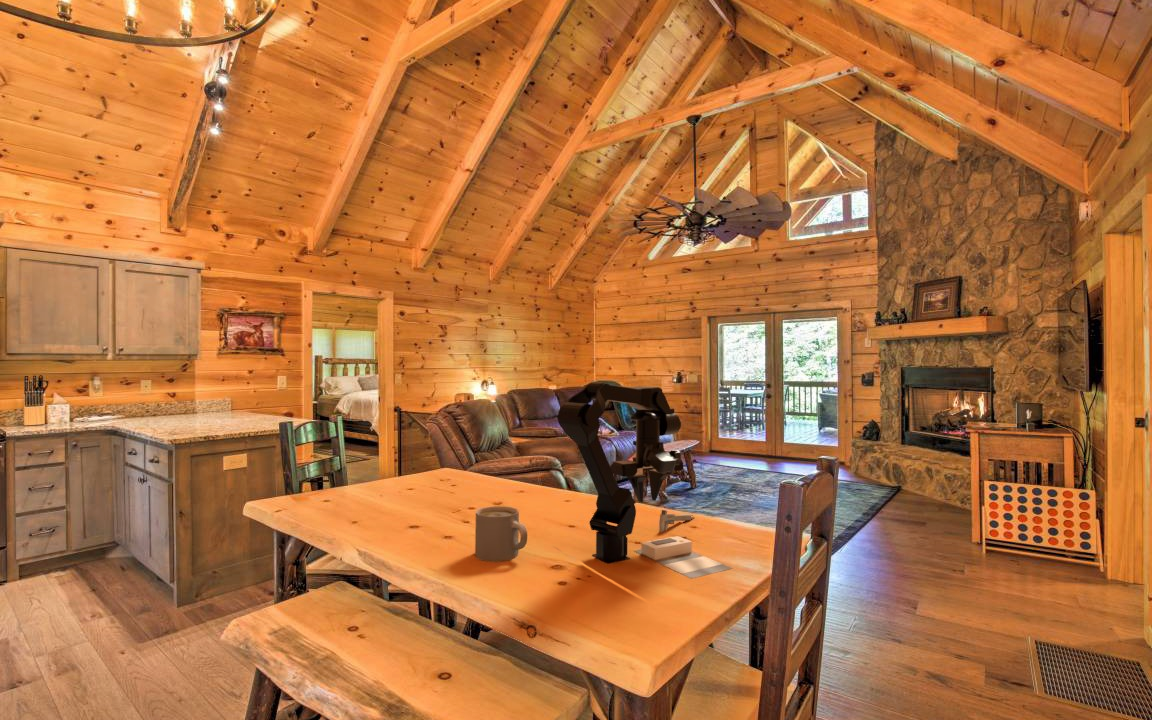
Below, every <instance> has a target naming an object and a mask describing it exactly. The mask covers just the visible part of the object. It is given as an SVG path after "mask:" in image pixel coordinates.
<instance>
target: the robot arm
mask: <svg viewBox="0 0 1152 720" xmlns="http://www.w3.org/2000/svg"><path fill="white" fill-rule="evenodd" d="M593 400H594V401H593ZM591 402H592V403H591ZM607 402H617V403H622V404H627V405H628V406H630V407H631V408H633V409H636V411H635V413H633V414H632V415H631V417H630V420H633V421H634V420H635V422H636V424H635V425H636V428H635V429H636V431H635V434H636V435H635V440H633V441H632V446H635V457H632V462H631V461H629V460H617V461H616V460H615V461H612V463H609V460H608V458H607V455H606V452H605V450H604V447H603V445H602V443H601V441H600V438H599V430H600V426H601V422H600V418H601V417H602V415H603V414H604V413H605V409H606V403H607ZM590 403H591V404H590ZM556 419H557V423H558V424H559V426H560V428H561V429H562V431H563V432H564V434H565V435H567V437H569V438H570V440H572V441H573V442H574V443H575V444H576V446H577V447H578V448H577V449H578V450H579V452H580V455H581V457H582V460H583V461H584V464H585V467H586V469H587V471H588V474H589V476H590V479H591V481H592V482H593V483H592V484H593V485H594V487H595V490H596V492H597V498H596V503H595V505H596V509H595V512H594V514H593V515H592V517H591V519H590V520H589V523H588V524H589V526H590V530H591V531H596V533H595V535H596V536H595V537H596V538H595V540H596V541H595V553H593V554H592V555H591V556H592V557H594V558H596V559H598V560H599V561H601V562H603V563H605V564H608V565H609V564H614V563H618V562H622V561H624V562H625V561H628V560H631V557H629V556H628V546H629V545H628V539H629V538H628V536H629V535H632V534H633V530H634V524H635V521H636V520H635V519H636V516H637V515H636V514H637V509H636V505H635V504H637V503H636V502H637V501H638V503H643V500H644V481H645V479H646V478H647V475H644V472H643V471H648V480H649V488H650V489H649V490H650V496H651V500H653V501H657V498H658V496H659V493H660V490H661V487H662V485H663V482H664V480H666V478H667V477H669V476H671V475H672V472H681V471H684V462H683V460H682V458H681V456H682V454H681V451H680V450H678V449H671V450H665V449H664V447H665V445H664V442H662V441H660V440H661V439H660V437H663V436H664V437H665V436H669V435H670V436H671V435H676V434H677V433H678V432H679V431H680V429H681V427H682V421H681V419H680V417H679V416H678V415H677V413H675V408H672V407H670V404H669V403H668V400H667V398H666V395H665V393H664V392H663V389H662V388H661V387H660V386H631V387H628V386H622V385H616V384H611V383H610V384H609V383H607V382H603V381H601V382H600V381H591V382H590V383H589V382H588V383H587V384H586V385H585V386H584V388H583V389H582V390H580V391H578V392H577V393H575V394H574V395H572V396H570V397H569V398H568V399H567V401H565V402H564V403H563V404H562V405H561V406H560V408H559V410H558V414H557V416H556ZM615 476H620V477H627V480H628V482H629V483H630V485H631V487H632V490H633V491H634V494H635V497H636V498H637V501H635V500H634V498H633V495H632V491H631V490H630V488H625V487H622V486H621V487H620V486H619V485H618V482H617V480H616V477H615ZM610 523H611V524H610ZM613 524H615V525H613Z"/></svg>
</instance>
